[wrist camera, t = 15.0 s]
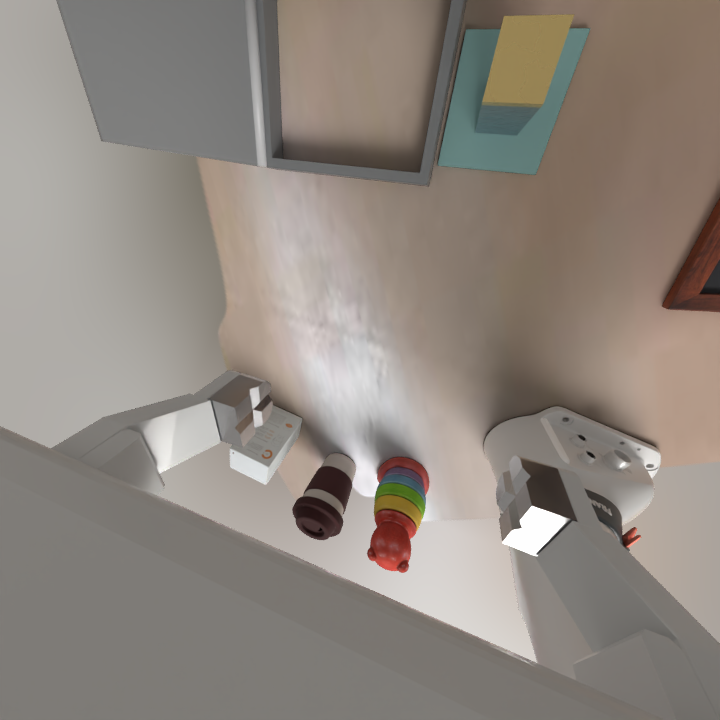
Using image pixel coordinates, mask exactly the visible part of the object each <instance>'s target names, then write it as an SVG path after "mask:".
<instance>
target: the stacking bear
mask: <svg viewBox="0 0 720 720" xmlns="http://www.w3.org/2000/svg"><path fill="white" fill-rule="evenodd" d="M377 479H378V481H379V485H378V487H377V491H376V495H375V505H374V516H375V522H376V525H377V528H376V530H375V531H374V533H373V535H372V538H371V545H370V548H369V550H368V553H367V554H368V557H369V559H370V560H371V561H376V563H377V564H378V565H379V566H381V567H382V568H384V569H387V570H390V571H399V572H401V573H404V572H406V571H407V570H408V567H409V565H408V562H409V559H410V555H411V544H410V538H412V537H413V536H414V535H415V534H416V531H417V530H418V528H419V526H420V523H421V520H422V518H423V515H424V512H425V505H426V498H425V495H426V493H427V491H428V488H429V478H428V475H427V472H426V471H425V469H424V468H423V467H422V466H421V465H420V464H419V463H418V462H416V461H414V460H412V459H409V458H404V457H395V458H392V459H390V460H388V461H386V462H385V463H383V464H382V466H381V467H380V469H379V471H378V475H377Z"/></svg>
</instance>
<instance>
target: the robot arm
mask: <svg viewBox="0 0 720 720" xmlns="http://www.w3.org/2000/svg"><path fill="white" fill-rule="evenodd" d="M270 392H271V385H270V383H269V382H268V381H265V380H262V379H259V378H256V377H253V376H250V375H247V374H243V373H240V372H237V371H234V370H229V371H226V372H225V373H224V374H222V375H221V376H219V377H218V378H216V379H215V380H214V381H213V382H211V383H209V384H208V385H207V386H205V387H204V388H203V389H201V390H200V391H198V392H197V393H195V394H194V395H192V394H187V395H183V396H180V397H176V398H173V399H169V400H165V401H162V402H158V403H154V404H151V405H147V406H143V407H139V408H135V409H132V410H128V411H124V412H121V413H117V414H113V415H110V416H106V417H103V418H101V419H100V420H98V421H96V422H95V423H93V424H91V425H89V426H88V427H86V428H85V429H83V430H81V431H79V432H78V433H76V434H75V435H73V436H71V437H69V438H68V439H66V440H64V441H63V442H61V443H59V444H58V445H56V446H54V447H53V448H48V447H46V446H44V445H41V444H39V443H37V442H35V441H32V440H30V439H28V438H25V437H23V436H21V435H19V434H17V433H14V432H12V431H10V430H7V429H5V428H3V427H1V426H0V720H720V643H719V642H717V640H716V639H715V638H713V636H711V634H710V633H709V632H707V630H706V629H705V628H704V627H703V626H701V624H700V623H699V622H697V620H696V619H695V618H694V617H693V616H692V615H691V614H690V613H689V612H688V611H687V610H686V609H685V608H684V607H683V606H682V605H681V604H680V603H679V602H678V601H677V600H676V599H675V598H674V597H673V596H672V595H671V594H670V593H669V592H668V591H667V590H666V589H665V588H664V587H663V586H662V585H661V584H660V583H659V582H658V581H657V580H656V579H655V578H654V577H653V576H652V575H651V574H650V573H649V572H648V571H647V570H646V569H645V568H644V567H643V566H642V565H641V564H640V563H639V562H638V561H637V560H636V559H635V558H634V557H633V556H632V555H631V554H630V553H629V551H630V550H629V547H630V546H631V545H632V544H634V543H635V542H636V541H638V540H639V539H640V538H641V536H640V535H637V536H635V534H636V531H637V528H635V527H634V528H632V529H631V530H629V531H628V532H627V533H626V534H624V535H622V526H623V525H624V524H626V523H628V522H629V521H631V520H632V519H634V518H635V517H637V516H638V515H639V514H640V513H641V512H642V511H644V510H645V508H646V507H647V506H648V505H649V504H650V502H651V501H652V499H653V496H654V490H655V489H654V483H653V481H652V478H653V477H654V475H655V474H656V473H657V471H658V469H659V467H660V463H661V454H660V452H659V451H658V449H657V448H656V447H654V446H652V445H650V444H647V443H645V442H643V441H640V440H638V439H636V438H633V437H631V436H629V435H626V434H624V433H622V432H619V431H617V430H614V429H612V428H610V427H607V426H605V425H603V424H600V423H598V422H596V421H593V420H591V419H589V418H586V417H584V416H582V415H579V414H577V413H575V412H572V411H570V410H568V409H565V408H563V407H558V406H556V407H551V408H548V409H546V410H544V411H542V412H539V413H537V414H535V415H530V416H523V417H518V418H513V419H510V420H507V421H505V422H503V423H501V424H499V425H498V426H496V427H495V428H494V429H492V430H491V431H490V433H489V434H488V435H487V437H486V439H485V442H484V453H485V455H486V458H487V459H488V461H489V463H490V465H491V467H492V470H493V473H494V476H495V479H496V482H497V488H496V499H497V505H498V506H499V510H500V515H501V517H500V518H499V522H500V529H501V536H502V542H503V543H504V544H507V545H509V550H510V556H511V563H512V570H513V576H514V583H515V590H516V596H517V602H518V608H519V611H520V614H521V616H522V618H523V620H524V622H525V624H526V627H527V629H528V633H529V636H530V639H531V643H532V646H533V649H534V653H535V656H536V660H537V663H535V662H533V661H531V660H529V659H526V658H524V657H522V656H520V655H517V654H515V653H513V652H511V651H508V650H506V649H504V648H501V647H499V646H497V645H495V644H492V643H490V642H488V641H486V640H483V639H481V638H479V637H477V636H474V635H472V634H470V633H468V632H465V631H463V630H460V629H458V628H456V627H454V626H451V625H449V624H447V623H445V622H442V621H440V620H438V619H436V618H434V617H431V616H429V615H427V614H424V613H422V612H420V611H418V610H415V609H413V608H411V607H408V606H406V605H404V604H402V603H400V602H397V601H395V600H393V599H391V598H388V597H386V596H384V595H381V594H379V593H377V592H375V591H372V590H370V589H368V588H366V587H363V586H361V585H359V584H357V583H354V582H352V581H350V580H347V579H345V578H343V577H341V576H338V575H336V574H334V573H332V572H329V571H327V570H325V569H322V568H320V567H318V566H316V565H314V564H311V563H309V562H307V561H304V560H302V559H300V558H298V557H295V556H293V555H291V554H289V553H286V552H284V551H282V550H280V549H277V548H275V547H273V546H271V545H268V544H266V543H264V542H261V541H259V540H257V539H255V538H252V537H250V536H248V535H245V534H243V533H241V532H239V531H236V530H234V529H232V528H230V527H227V526H225V525H223V524H221V523H218V522H216V521H214V520H212V519H209V518H207V517H204V516H202V515H200V514H198V513H195V512H193V511H191V510H189V509H187V508H184V507H182V506H180V505H178V504H175V503H173V502H171V501H168V500H166V499H164V498H162V497H159V496H157V495H158V494H159V493H160V492H161V491H162V490H163V489H164V486H165V484H164V482H163V480H162V478H161V476H160V473H161V472H163V471H165V470H167V469H169V468H171V467H173V466H175V465H177V464H179V463H181V462H183V461H185V460H187V459H189V458H190V457H193V456H195V455H197V454H198V453H201V452H202V451H204V450H206V449H208V448H210V447H212V446H214V445H216V444H218V443H220V442H221V441H223V442H226V443H229V444H232V445H235V446H238V447H241V448H243V447H244V446H245V445H246V444H247V443H248V442H249V440H250V439H251V438H252V437H253V436H254V435H255V428H257V427H259V426H262V425H264V423H265V422H266V421H267V420H268V418H269V416H270V414H271V412H272V406H273V404H272V399H271V398H270V396H269V395H268V394H269V393H270ZM565 417H567V418H566V419H563V418H565ZM634 536H635V537H634Z"/></svg>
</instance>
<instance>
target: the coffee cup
mask: <svg viewBox="0 0 720 720" xmlns="http://www.w3.org/2000/svg"><path fill="white" fill-rule="evenodd" d="M355 472H356V466H355V464H354V462H353V461H352V460H351V459H350V458H349V457H347V456H346V455H343V454H340V453H332V454H330V455H328V456H327V458H326V459H325V461H324V463H323V464H322V466H321V468H319V469H318V471H317V472H316V474H315V475H314V477H313V478H312V480H311V482H310V483H309V485H308V487H307V488H306V490H305V492H304V495H303V497H300V498H299V499H298V500H297V501H296V503H295V505H294V507H293V515H294V517H295V518H296V524H297V526H298V528H299V529H300V530H301V531H302V532H303V533H304V534H306V535H308V536H309V537H311V538H314V539H318V540H325V539H328V538H329V537H332V536H336V535H337V534H339V533H340V531H341V528H342V526H343V519H342V515H343V514H344V512H345V509H346V505H347V502H348V499H349V495H350V492H351V489H352V482H353V478H354V475H355Z"/></svg>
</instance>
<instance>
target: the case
mask: <svg viewBox="0 0 720 720" xmlns="http://www.w3.org/2000/svg"><path fill="white" fill-rule="evenodd" d="M466 2H467V0H452V1H451V6H450V12H449V17H448V23H447V28H446V33H445V39H444V44H443V50H442V55H441V61H440V66H439V72H438V77H437V82H436V88H435V93H434V99H433V104H432V110H431V115H430V121H429V126H428V132H427V137H426V142H425V148H424V153H423V159H422V164H421V170H420V173H415V172H405V171H396V170H386V169H376V168H366V167H356V166H347V165H337V164H327V163H317V162H307V161H298V160H288V159H283V147H282V121H281V96H280V71H279V45H278V20H277V0H57V4H58V7H59V10H60V13H61V16H62V19H63V22H64V26H65V29H66V32H67V35H68V38H69V41H70V44H71V48H72V51H73V54H74V57H75V60H76V63H77V66H78V69H79V72H80V76H81V79H82V82H83V85H84V88H85V91H86V94H87V97H88V101H89V103H90V107H91V110H92V113H93V116H94V119H95V122H96V126H97V129H98V132H99V135H100V138H101V141H103V142H110V143H116V144H122V145H128V146H135V147H141V148H147V149H153V150H160V151H166V152H172V153H178V154H184V155H191V156H197V157H203V158H209V159H216V160H222V161H228V162H234V163H240V164H247V165H253V166H259V167H267V168H272V169H277V170H286V171H295V172H304V173H313V174H322V175H331V176H340V177H349V178H358V179H367V180H376V181H385V182H394V183H403V184H412V185H420V186H429V184H430V179H431V174H432V170H433V165H434V160H435V155H436V150H437V145H438V140H439V135H440V130H441V125H442V120H443V115H444V110H445V106H446V101H447V96H448V91H449V86H450V81H451V76H452V71H453V66H454V61H455V56H456V51H457V46H458V41H459V37H460V32H461V27H462V22H463V17H464V12H465V7H466Z"/></svg>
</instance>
